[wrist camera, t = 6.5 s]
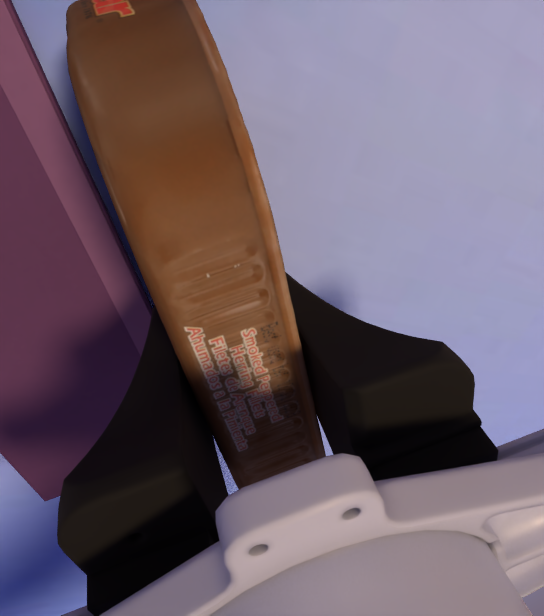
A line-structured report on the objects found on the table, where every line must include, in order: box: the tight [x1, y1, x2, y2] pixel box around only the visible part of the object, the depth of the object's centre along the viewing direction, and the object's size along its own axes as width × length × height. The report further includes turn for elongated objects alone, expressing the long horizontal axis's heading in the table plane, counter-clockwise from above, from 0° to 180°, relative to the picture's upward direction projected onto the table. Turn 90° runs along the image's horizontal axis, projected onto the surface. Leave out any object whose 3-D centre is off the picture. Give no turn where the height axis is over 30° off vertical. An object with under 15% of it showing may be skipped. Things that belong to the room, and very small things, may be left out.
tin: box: [66, 0, 326, 489], centre depth 15 cm, size 15×3×8 cm, turn 11°
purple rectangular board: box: [0, 0, 152, 501], centre depth 18 cm, size 8×20×1 cm, turn 12°
